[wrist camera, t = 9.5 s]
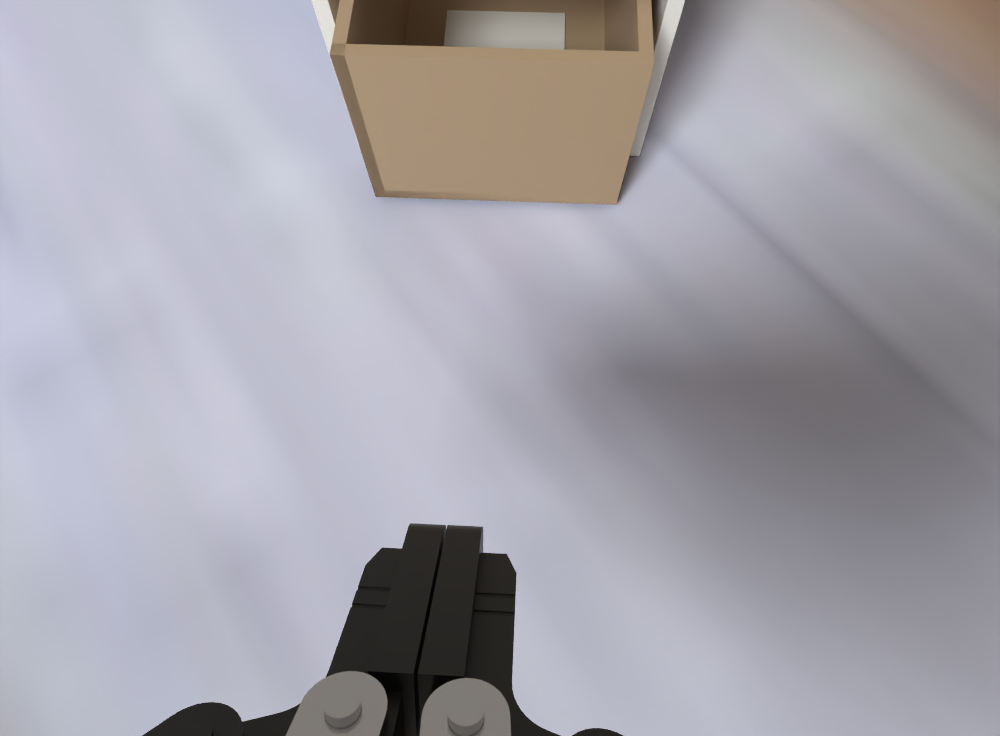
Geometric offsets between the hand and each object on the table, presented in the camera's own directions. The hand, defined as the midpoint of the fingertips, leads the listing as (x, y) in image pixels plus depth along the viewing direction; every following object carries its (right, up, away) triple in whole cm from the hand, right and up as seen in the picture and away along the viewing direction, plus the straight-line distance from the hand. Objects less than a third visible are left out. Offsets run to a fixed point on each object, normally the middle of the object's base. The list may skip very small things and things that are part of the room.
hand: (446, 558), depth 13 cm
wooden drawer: (+2, +23, +20) cm, 30 cm away
